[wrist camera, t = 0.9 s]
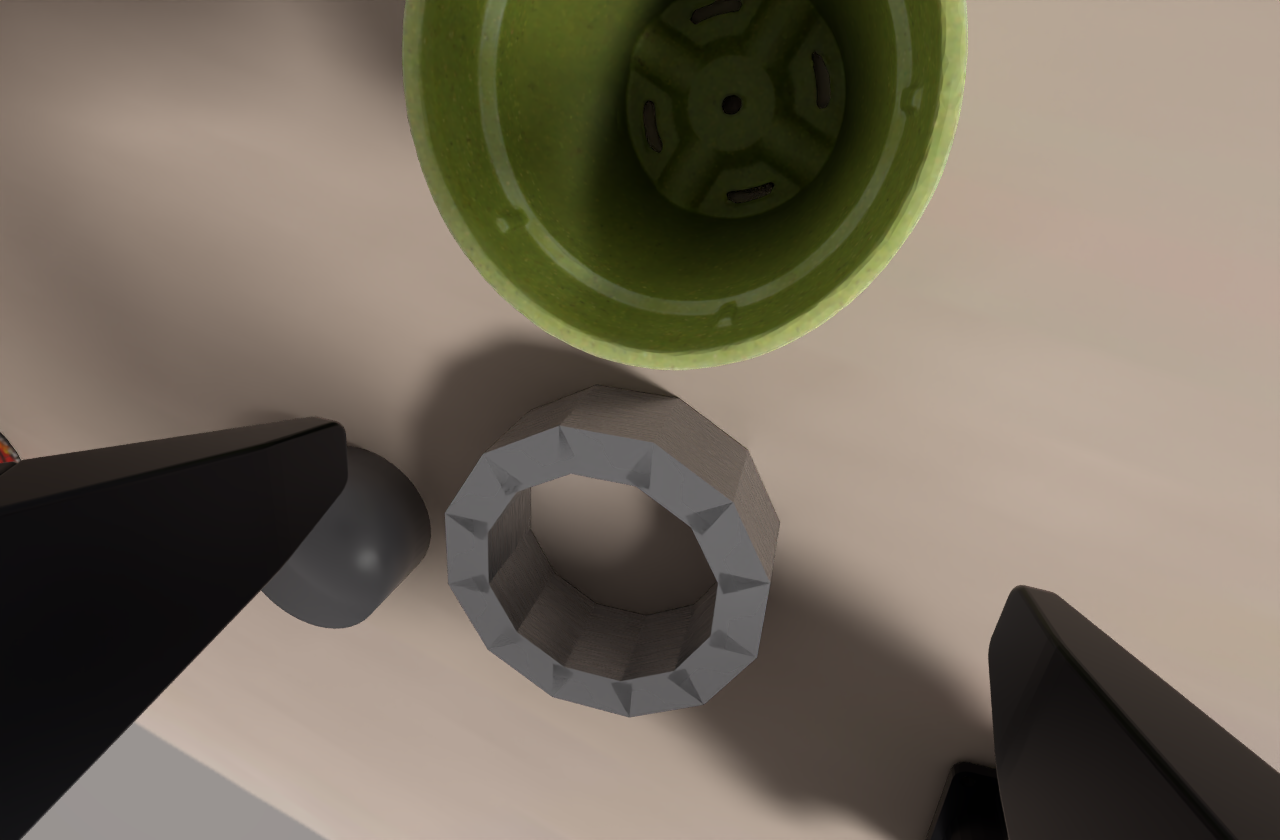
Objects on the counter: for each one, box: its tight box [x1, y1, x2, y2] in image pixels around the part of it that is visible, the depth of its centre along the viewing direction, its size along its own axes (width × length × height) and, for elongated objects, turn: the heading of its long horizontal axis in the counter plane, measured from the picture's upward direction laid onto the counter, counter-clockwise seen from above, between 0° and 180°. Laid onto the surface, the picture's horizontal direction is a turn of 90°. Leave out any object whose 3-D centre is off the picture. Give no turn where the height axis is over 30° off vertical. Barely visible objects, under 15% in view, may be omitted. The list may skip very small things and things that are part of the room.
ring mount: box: [445, 385, 780, 717], centre depth 24 cm, size 10×10×4 cm
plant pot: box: [402, 0, 968, 370], centre depth 15 cm, size 9×9×9 cm
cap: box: [261, 446, 431, 629], centre depth 27 cm, size 6×6×4 cm
